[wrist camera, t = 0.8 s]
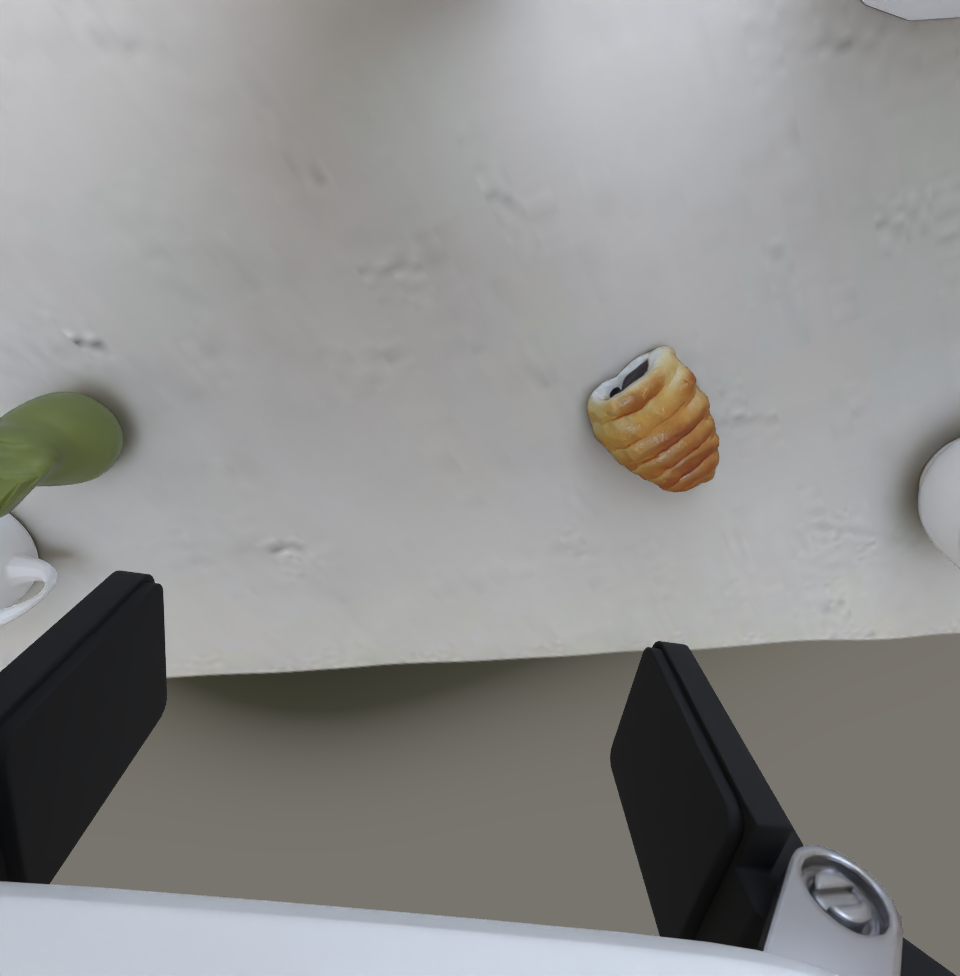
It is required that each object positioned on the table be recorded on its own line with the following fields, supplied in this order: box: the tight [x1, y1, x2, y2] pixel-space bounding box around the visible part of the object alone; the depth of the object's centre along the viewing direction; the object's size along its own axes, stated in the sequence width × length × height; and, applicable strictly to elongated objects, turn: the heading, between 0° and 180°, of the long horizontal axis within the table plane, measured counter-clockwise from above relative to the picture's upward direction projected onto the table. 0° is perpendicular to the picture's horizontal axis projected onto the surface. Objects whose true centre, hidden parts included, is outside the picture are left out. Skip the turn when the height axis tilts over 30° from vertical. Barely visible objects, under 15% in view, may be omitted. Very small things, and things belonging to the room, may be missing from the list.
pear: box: [0, 392, 123, 518], centre depth 32 cm, size 6×5×10 cm
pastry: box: [587, 346, 719, 492], centre depth 35 cm, size 9×7×4 cm
